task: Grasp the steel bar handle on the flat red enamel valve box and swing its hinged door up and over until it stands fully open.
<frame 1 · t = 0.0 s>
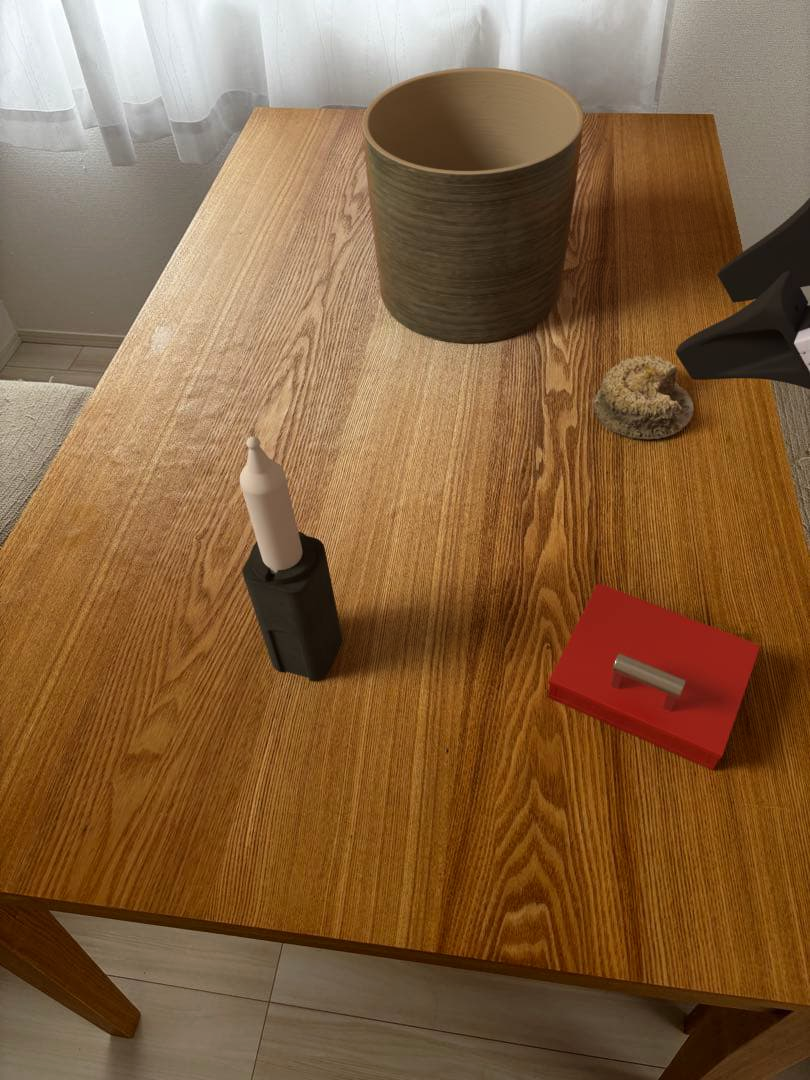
hand: (707, 322, 49), 30 cm above the table, tool tilted 50°, fingers open, 7 cm apart
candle: (307, 652, 73), on the table
planter: (470, 288, 103), on the table
valve box: (648, 683, 69), on the table
cake: (642, 409, 89), on the table
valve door: (659, 652, 65), point 5 cm above the table, hinge at 0.0°
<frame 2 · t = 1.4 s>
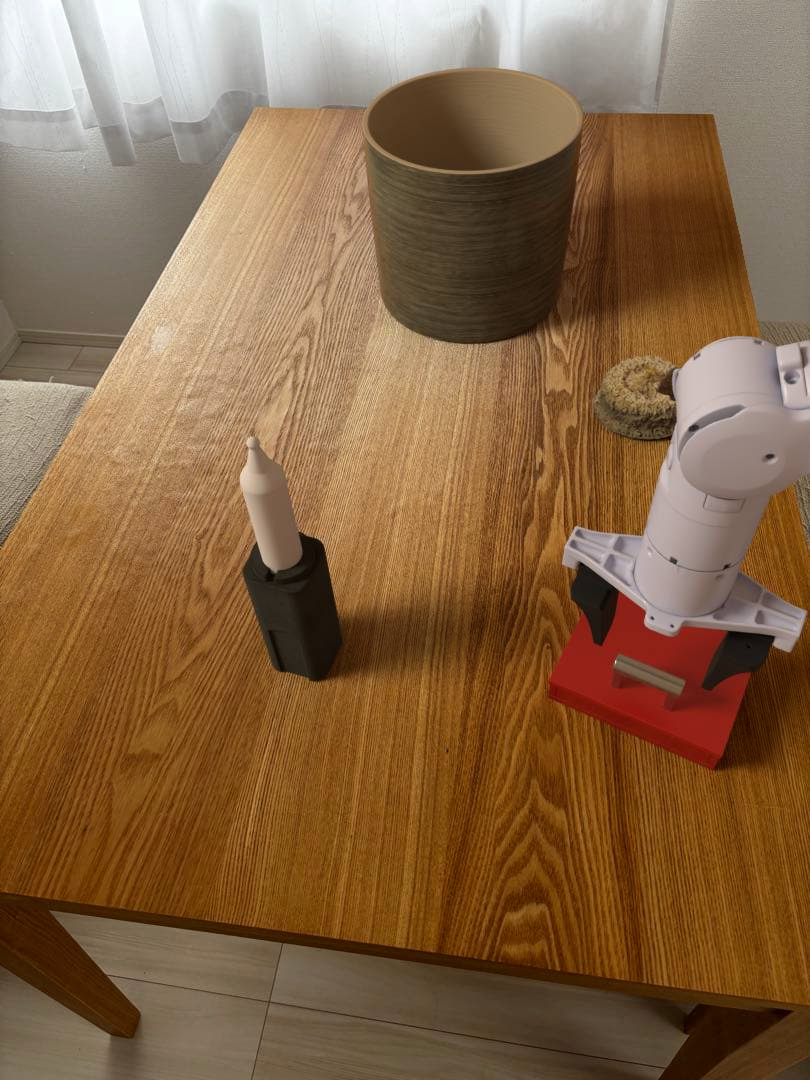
hand: (654, 655, 60), 9 cm above the table, tool pointing down, fingers open, 7 cm apart
nothing on the table moved.
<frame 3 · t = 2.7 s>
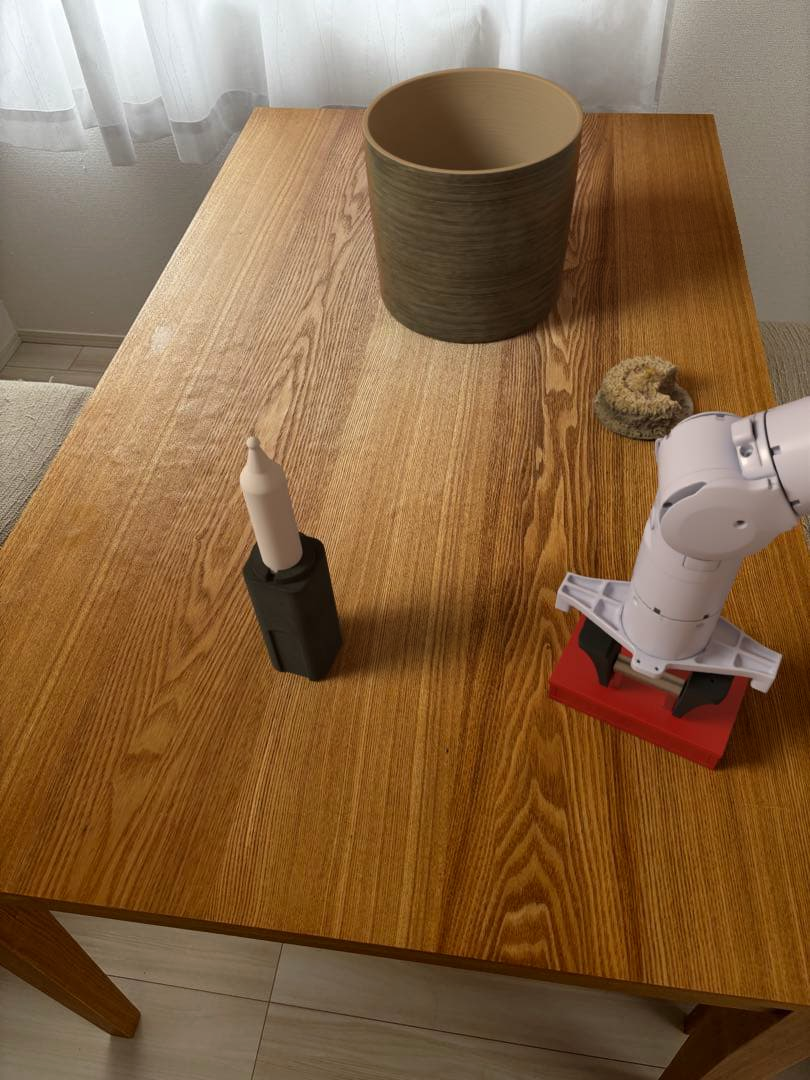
hand: (642, 690, 64), 4 cm above the table, tool pointing down, fingers closed on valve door, 5 cm apart
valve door: (659, 652, 65), point 5 cm above the table, hinge at 0.0°, touching gripper
everything else where it was.
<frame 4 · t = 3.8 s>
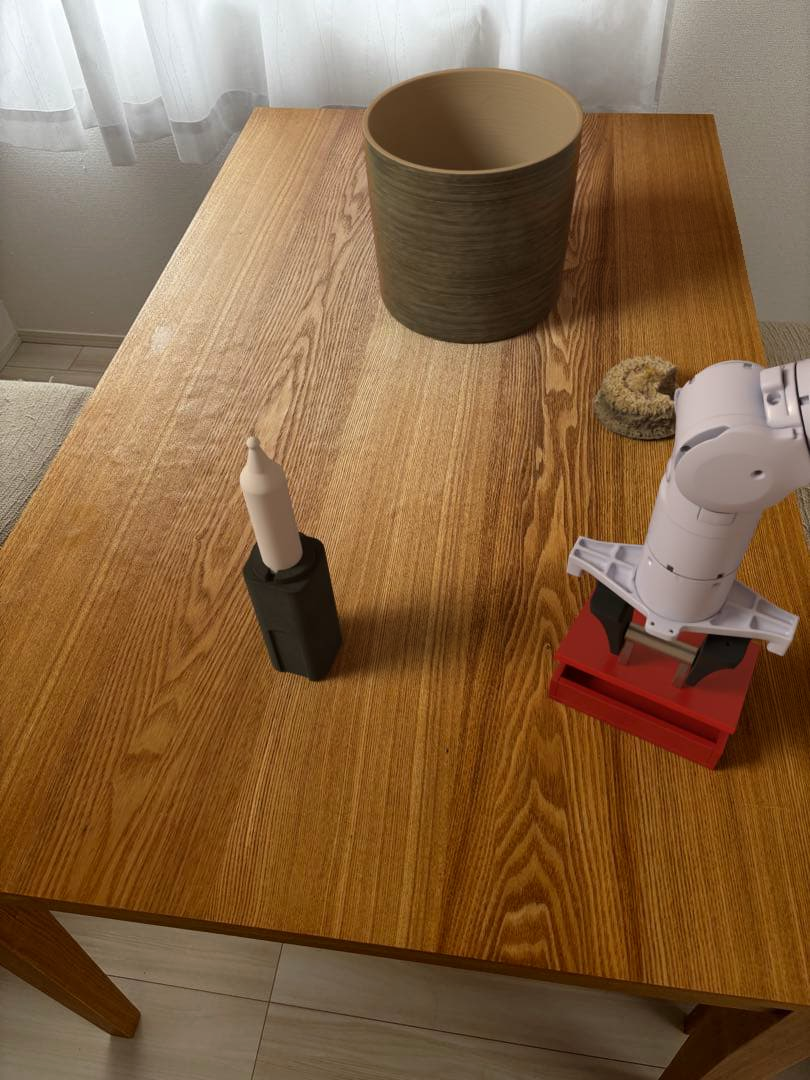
hand: (655, 658, 63), 7 cm above the table, tool pointing down, fingers closed on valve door, 5 cm apart
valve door: (666, 633, 64), point 7 cm above the table, hinge at 17.8°, touching gripper
everything else where it was.
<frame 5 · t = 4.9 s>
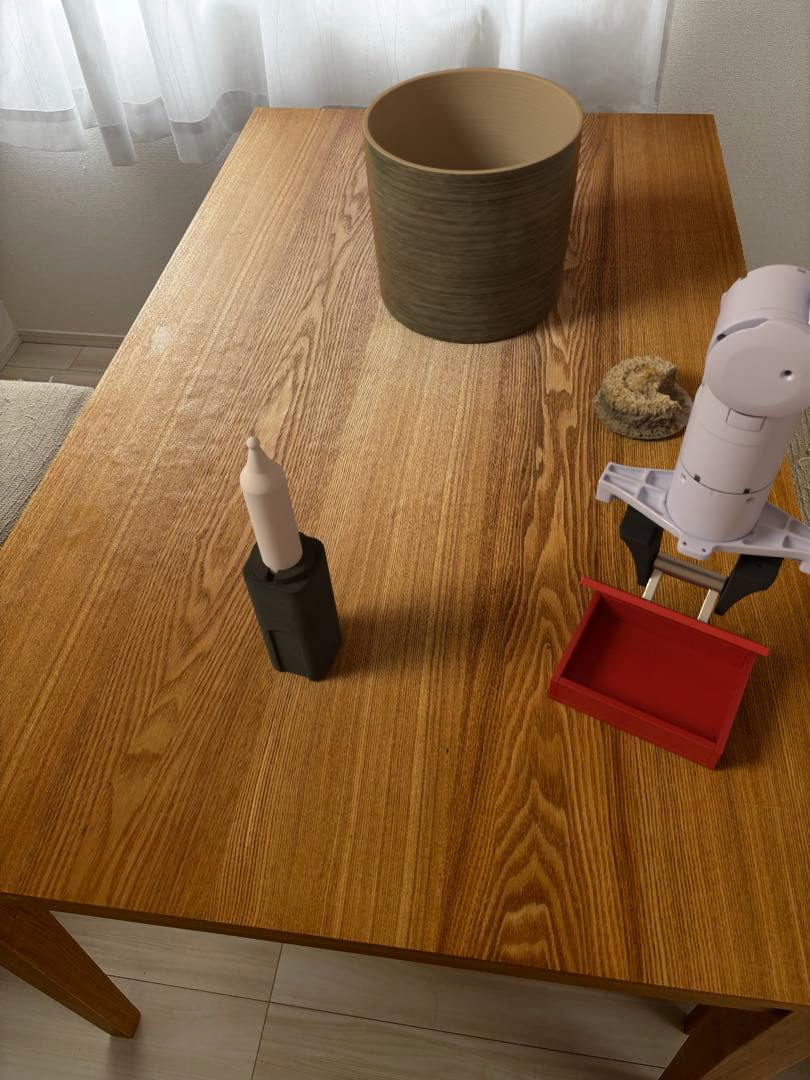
hand: (682, 589, 63), 10 cm above the table, tool pointing down, fingers closed on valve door, 5 cm apart
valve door: (683, 592, 64), point 9 cm above the table, hinge at 53.5°, touching gripper
everything else where it was.
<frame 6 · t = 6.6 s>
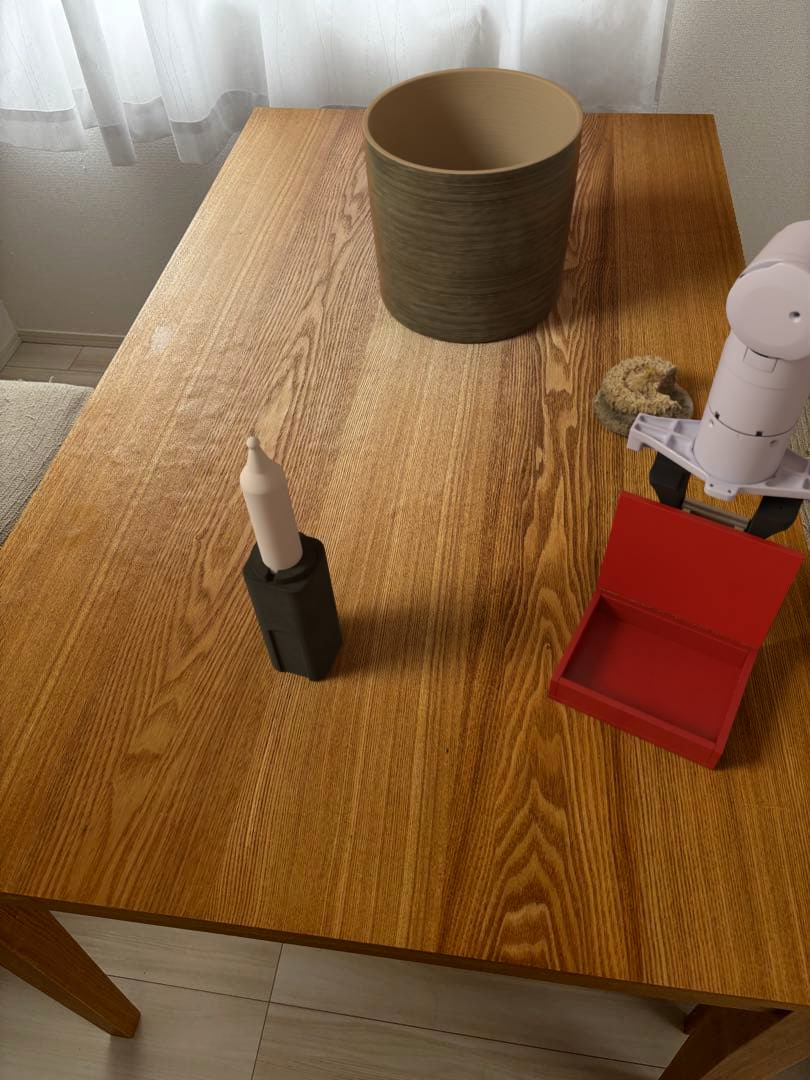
hand: (706, 536, 67), 9 cm above the table, tool pointing down, fingers closed on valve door, 5 cm apart
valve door: (698, 556, 66), point 8 cm above the table, hinge at 97.4°, touching gripper
everything else where it was.
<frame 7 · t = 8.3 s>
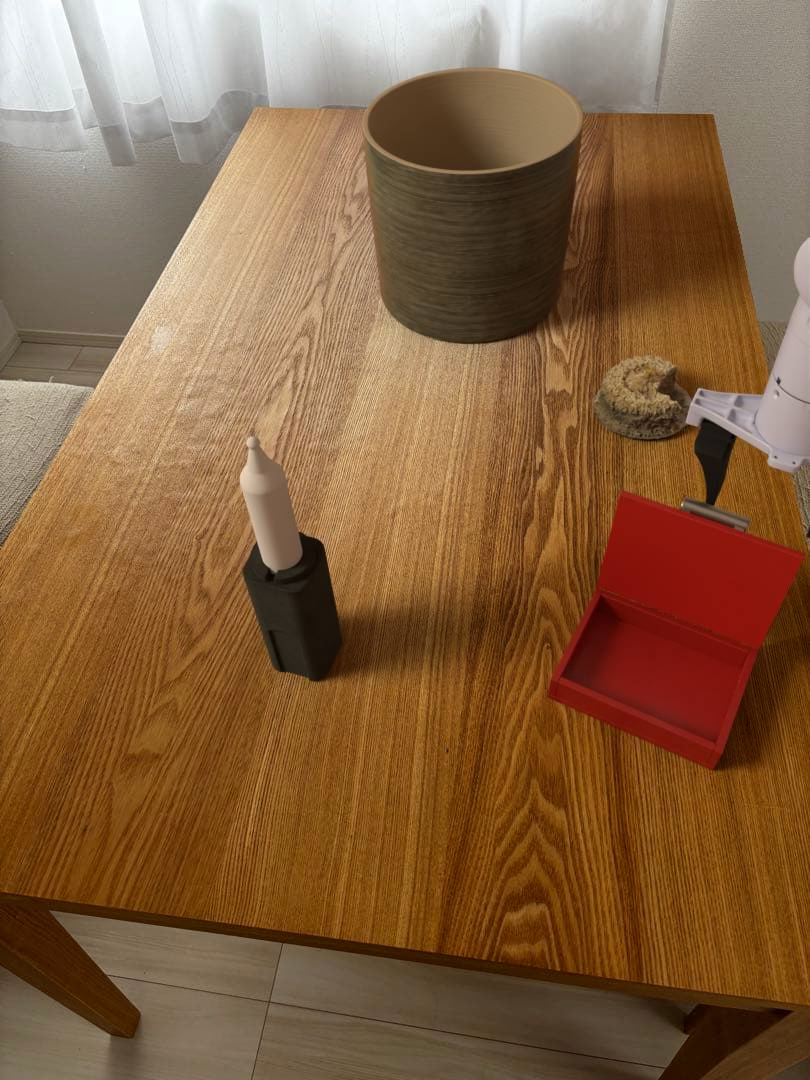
hand: (762, 512, 67), 10 cm above the table, tool pointing down, fingers open, 7 cm apart
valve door: (698, 556, 66), point 8 cm above the table, hinge at 97.4°
everything else where it was.
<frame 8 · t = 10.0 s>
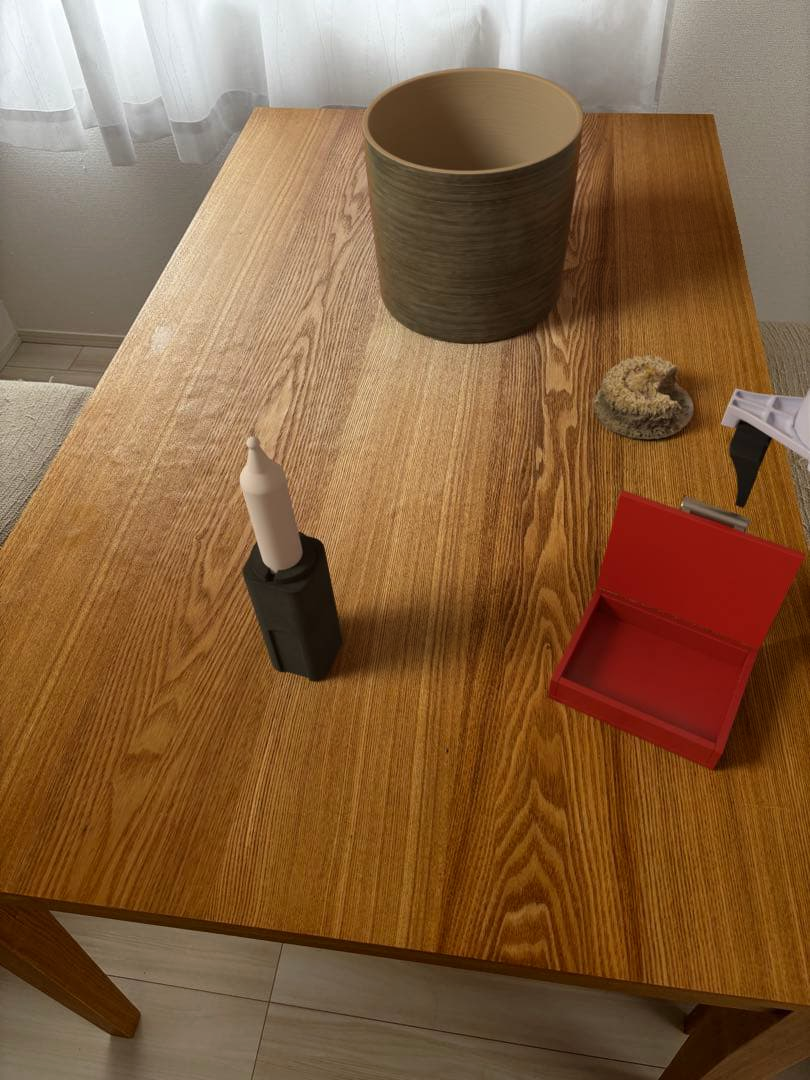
hand: (793, 516, 66), 10 cm above the table, tool pointing down, fingers open, 7 cm apart
nothing on the table moved.
at the end: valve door at +97° (first picture: +0°); planter moved 0.2 cm from its start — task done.
